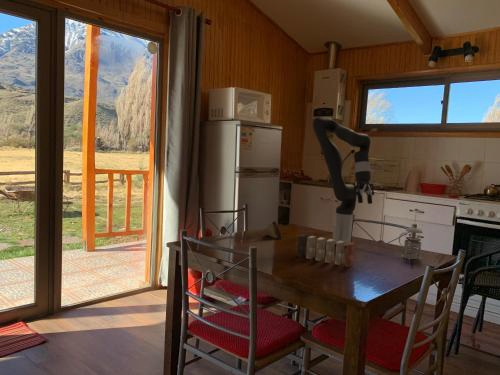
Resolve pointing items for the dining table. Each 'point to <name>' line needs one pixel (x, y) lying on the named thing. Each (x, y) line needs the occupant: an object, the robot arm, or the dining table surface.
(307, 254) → the domino
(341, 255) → the domino
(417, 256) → the french press
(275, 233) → the rock
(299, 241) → the domino
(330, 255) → the domino
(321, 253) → the domino
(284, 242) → the dining table surface
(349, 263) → the domino
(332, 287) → the dining table surface
